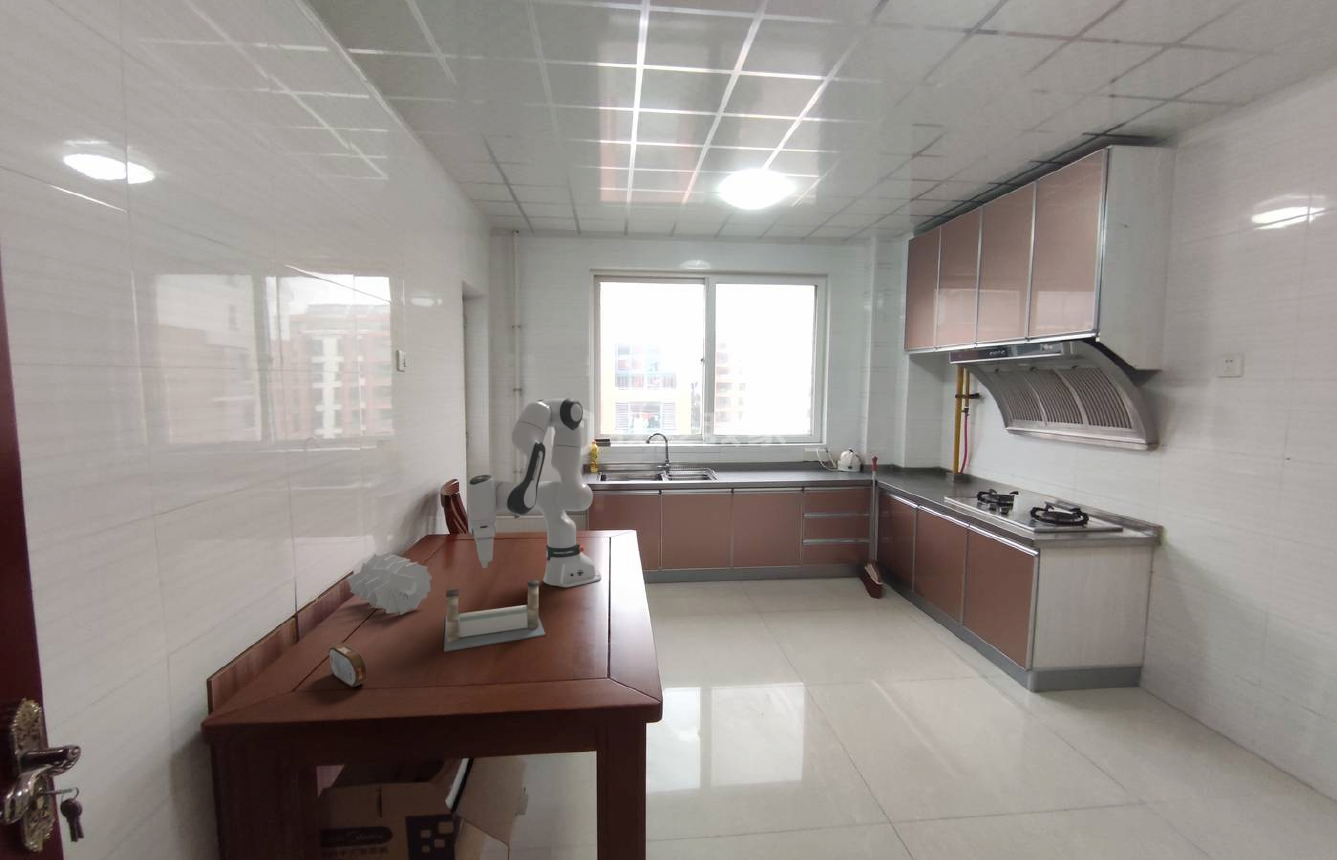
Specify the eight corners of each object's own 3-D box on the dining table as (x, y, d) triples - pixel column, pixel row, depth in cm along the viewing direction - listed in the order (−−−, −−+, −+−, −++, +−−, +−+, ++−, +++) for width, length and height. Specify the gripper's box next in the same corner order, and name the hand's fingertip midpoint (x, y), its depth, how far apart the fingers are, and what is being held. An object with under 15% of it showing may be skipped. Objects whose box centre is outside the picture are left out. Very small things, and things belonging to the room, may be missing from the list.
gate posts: (538, 625, 161) (538, 579, 160) (539, 630, 158) (539, 583, 157) (446, 639, 151) (446, 590, 150) (446, 644, 148) (445, 594, 147)
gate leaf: (526, 625, 159) (526, 604, 158) (526, 627, 157) (526, 607, 157) (460, 634, 152) (460, 613, 151) (460, 637, 150) (460, 615, 150)
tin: (368, 687, 126) (367, 654, 125) (354, 693, 123) (353, 659, 122) (340, 669, 134) (339, 637, 134) (326, 674, 131) (326, 642, 131)
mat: (534, 605, 176) (534, 604, 176) (545, 635, 154) (545, 633, 154) (445, 617, 166) (445, 616, 166) (444, 651, 144) (444, 650, 143)
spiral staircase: (385, 606, 184) (425, 620, 170) (336, 599, 170) (375, 613, 157) (405, 555, 190) (444, 564, 176) (359, 545, 176) (398, 554, 163)
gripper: (471, 518, 175) (473, 557, 176) (473, 535, 156) (475, 579, 157) (490, 516, 177) (492, 555, 178) (495, 533, 158) (497, 575, 160)
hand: (484, 566), depth 168 cm, fingers closed
